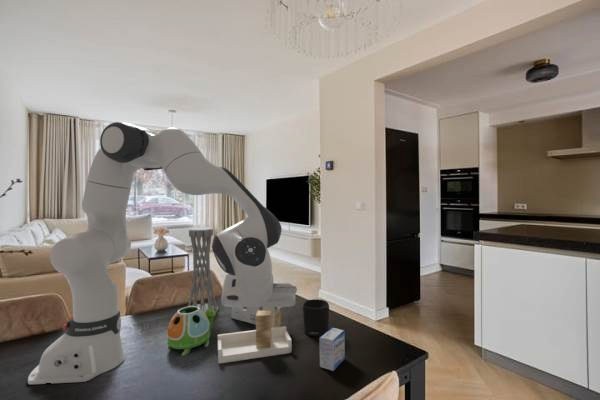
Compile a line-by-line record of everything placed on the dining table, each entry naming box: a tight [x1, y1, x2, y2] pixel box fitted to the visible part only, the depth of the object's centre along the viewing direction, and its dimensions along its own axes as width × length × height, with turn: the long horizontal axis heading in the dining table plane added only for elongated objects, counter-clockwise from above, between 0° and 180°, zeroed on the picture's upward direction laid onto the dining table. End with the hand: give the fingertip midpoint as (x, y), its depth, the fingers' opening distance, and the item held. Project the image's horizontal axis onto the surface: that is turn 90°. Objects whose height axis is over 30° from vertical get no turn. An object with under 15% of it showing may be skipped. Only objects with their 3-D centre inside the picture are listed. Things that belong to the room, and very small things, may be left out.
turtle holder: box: [166, 305, 217, 357], centre depth 103 cm, size 12×18×12 cm
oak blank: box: [255, 310, 272, 348], centre depth 97 cm, size 4×4×10 cm
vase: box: [187, 226, 219, 314], centre depth 130 cm, size 14×13×35 cm
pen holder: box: [302, 298, 330, 338], centre depth 110 cm, size 9×9×10 cm
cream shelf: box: [217, 325, 293, 364], centre depth 96 cm, size 22×8×5 cm, turn 106°
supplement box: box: [262, 307, 282, 328], centre depth 111 cm, size 8×5×13 cm, turn 168°
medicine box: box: [319, 327, 346, 372], centre depth 90 cm, size 8×4×9 cm, turn 148°
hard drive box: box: [230, 307, 262, 326], centre depth 122 cm, size 16×8×20 cm, turn 58°
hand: (261, 308), depth 90 cm, fingers open, 8 cm apart
